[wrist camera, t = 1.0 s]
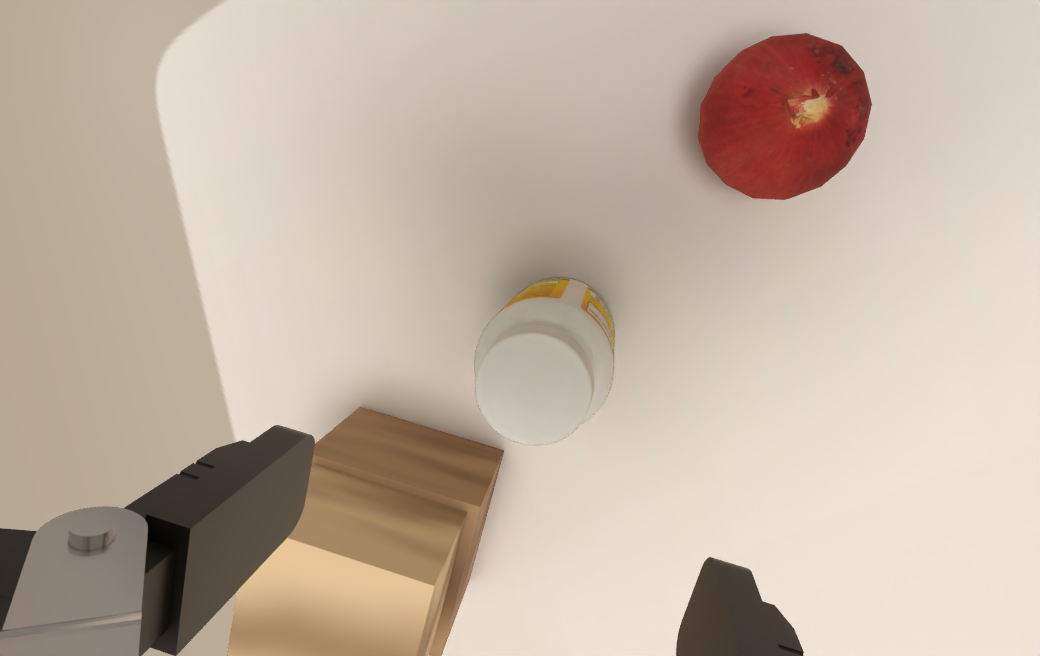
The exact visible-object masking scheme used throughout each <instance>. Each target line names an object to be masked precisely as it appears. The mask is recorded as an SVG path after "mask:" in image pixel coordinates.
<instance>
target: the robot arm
mask: <svg viewBox="0 0 1040 656" xmlns="http://www.w3.org/2000/svg"><path fill="white" fill-rule="evenodd" d="M314 446H315V441H314V437H313V436H312V435H309V434H306V433H303V432H300V431H296V430H293V429H290V428H286V427H283V426H280V425H275V426H273V427H272V428H270V429H269V430H267V431H266V432H264V433H263V434H261V435H260V436H259V437H257V438H256V439H254V440H253V441H251V442H250V443H249V442H246V441H243V440H242V441H239V442H236V443H232V444H229V445H226V446H222V447H219V448H216V449H214V450H213V451H211V452H210V453H208V454H207V455H205V456H204V457H202V458H201V459H199V460H197V462H196V464H194V463H193V464H191V465H190V466H188V467H187V468H185V469H184V470H182V471H181V472H180V474H179V475H178V474H176V475H174V476H173V477H171V478H170V479H168V480H167V481H165V482H164V483H162V484H160V485H159V486H157V487H156V488H154V489H153V490H151V491H149V492H148V493H146V494H145V495H143V496H142V497H140V498H139V499H137V500H136V501H134V502H132V503H131V504H129V505H128V506H126V507H125V508H118V507H91V508H84V509H79V510H75V511H72V512H68V513H65V514H63V515H60V516H58V517H56V518H54V519H52V520H50V521H49V522H47V523H46V524H44V525H43V526H42V527H41V528H40V529H39V530H38V531H26V530H14V529H13V530H12V529H1V528H0V656H142V655H143V653H145V652H146V651H147V650H148V649H149V648H150V647H151V648H154V649H157V650H160V651H163V652H165V653H168V654H171V655H174V656H176V655H177V654H178V653H179V652H180V651H181V650H182V649H183V648H184V647H185V646H186V645H187V644H188V643H189V642H190V641H191V639H192V638H193V637H194V636H195V635H196V634H197V633H198V632H199V631H200V630H201V629H202V628H203V627H204V625H206V623H207V622H208V621H209V620H210V619H211V618H212V617H213V616H214V615H215V614H216V613H217V612H218V611H219V610H220V609H221V608H222V607H223V605H224V604H225V603H226V602H227V601H228V600H229V599H230V598H231V597H232V596H233V595H234V594H235V593H236V591H238V590H239V588H240V587H241V586H242V585H243V584H244V583H245V582H246V581H247V580H248V579H249V578H250V577H251V576H252V575H253V574H254V573H255V571H256V570H257V569H258V568H259V567H260V566H261V565H262V564H263V563H264V562H265V561H266V560H267V559H268V558H269V557H270V556H271V554H272V553H273V552H274V551H275V550H276V549H277V548H278V547H279V546H280V545H281V544H282V543H283V542H284V541H285V540H286V539H287V537H288V536H289V535H290V534H291V533H292V532H293V530H294V529H295V527H296V525H297V523H298V521H299V519H300V517H301V515H302V512H303V509H304V505H305V500H306V494H307V488H308V483H309V477H310V471H311V465H312V459H313V453H314ZM803 653H804V652H803V649H802V647H801V645H800V642H799V640H798V637H797V635H796V633H795V630H794V628H793V627H792V626H791V625H790V623H789V622H788V621H787V620H786V619H785V617H784V616H783V615H782V614H781V613H780V611H779V610H778V609H777V608H776V607H775V605H772V604H769V603H766V602H763V601H762V599H761V596H760V594H759V591H758V588H757V586H756V583H755V580H754V577H753V575H752V572H751V571H750V570H749V569H748V568H744V567H741V566H738V565H734V564H731V563H728V562H725V561H721V560H718V559H715V558H711V557H709V558H707V559H706V561H705V562H704V564H703V566H702V569H701V571H700V574H699V577H698V579H697V582H696V585H695V587H694V590H693V593H692V595H691V598H690V601H689V603H688V606H687V609H686V611H685V614H684V617H683V619H682V622H681V625H680V629H679V633H678V639H677V648H676V656H803Z"/></svg>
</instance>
